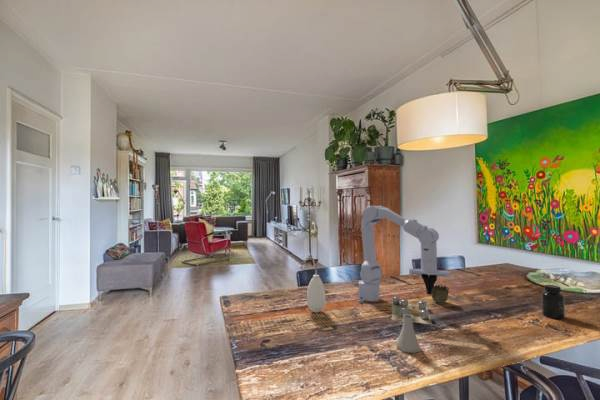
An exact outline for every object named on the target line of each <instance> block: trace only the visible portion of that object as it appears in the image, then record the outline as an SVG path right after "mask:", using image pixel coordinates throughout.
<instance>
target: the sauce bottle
mask: <svg viewBox="0 0 600 400" xmlns="http://www.w3.org/2000/svg"><path fill="white" fill-rule="evenodd" d="M317 272H318V271H317V269H315V274H313V275H312V278H311V280H310V281H309V283H308V286H307V291H306V301H307V305H308V309H310V310H311V312H313V313H316V314H318V313H320V312H321V311H322V310H323V309H324V308H325V305H326V297H327V296H326V289H325V286H324V282H323V281H322V278H320V275H319V274H317Z"/></svg>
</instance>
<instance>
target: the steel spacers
mask: <svg viewBox="0 0 600 400" xmlns="http://www.w3.org/2000/svg"><path fill="white" fill-rule="evenodd" d="M392 303H393V305H400V303H401V317H403V315H404V314H409V308H407V305H408V304H409V300H408V299H405V298H401V297H400V296H397V295H392ZM417 305H418V309H419V310H421V319H422V320H429V316H430V310H426V306H427V301H424V300H418V304H417Z"/></svg>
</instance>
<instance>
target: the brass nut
mask: <svg viewBox="0 0 600 400" xmlns="http://www.w3.org/2000/svg"><path fill="white" fill-rule="evenodd" d="M407 308H409V314H413V315H419V310H418V306H408V305H407Z"/></svg>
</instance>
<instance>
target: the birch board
mask: <svg viewBox="0 0 600 400" xmlns="http://www.w3.org/2000/svg"><path fill="white" fill-rule="evenodd" d="M408 306H418V304H411V303H408ZM418 310H419V309H418ZM426 310H428V307H427V305H426ZM428 311H429V310H428ZM410 315H412V316H413V317H414V319H413V323H419V324H424V325H433V322H432V319H431V316H430V315H429V320H422V319H421V310H419V315H413V314H410ZM391 321H400V322H404V318H403V317H401V302H400V305H393V302H391Z"/></svg>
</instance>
